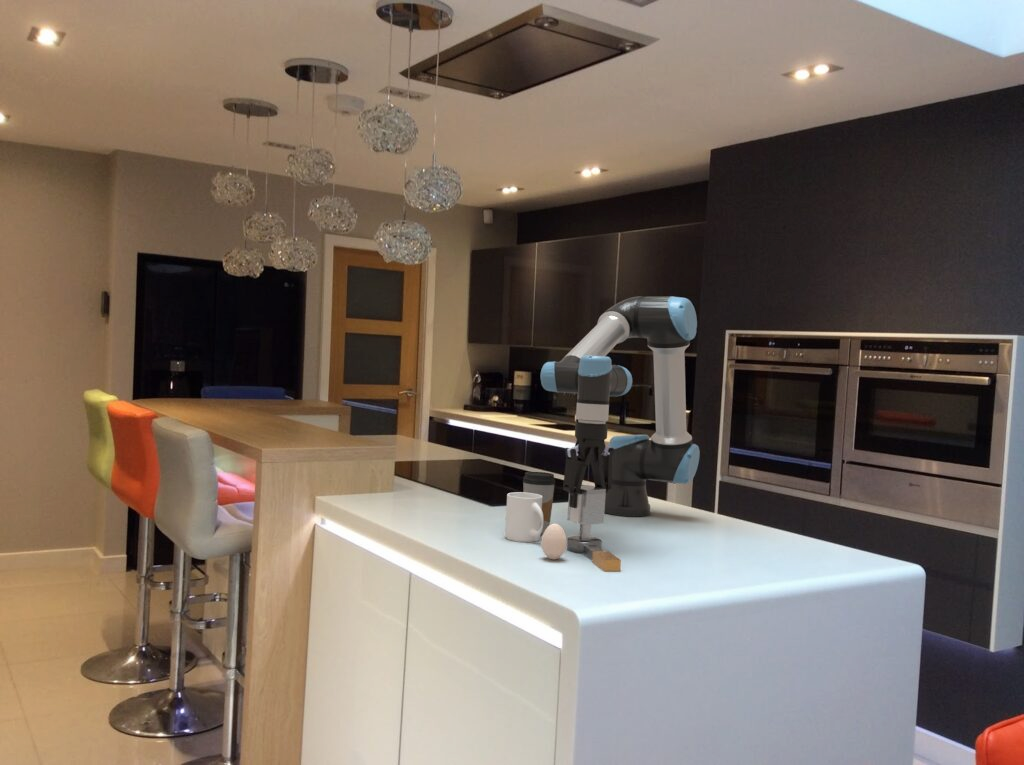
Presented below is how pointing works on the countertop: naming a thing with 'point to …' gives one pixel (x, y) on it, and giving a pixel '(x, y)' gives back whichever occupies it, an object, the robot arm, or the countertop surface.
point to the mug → (523, 517)
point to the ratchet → (593, 549)
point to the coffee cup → (541, 492)
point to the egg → (554, 541)
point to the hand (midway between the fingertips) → (585, 520)
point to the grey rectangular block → (591, 505)
